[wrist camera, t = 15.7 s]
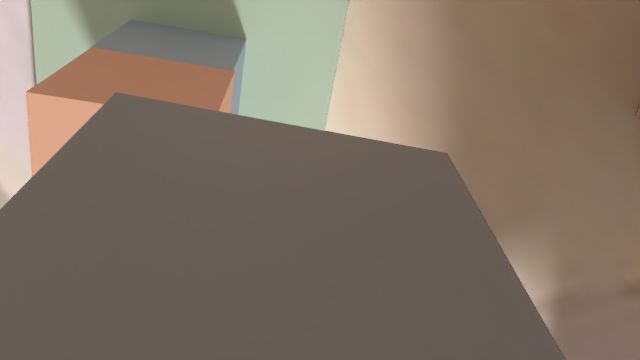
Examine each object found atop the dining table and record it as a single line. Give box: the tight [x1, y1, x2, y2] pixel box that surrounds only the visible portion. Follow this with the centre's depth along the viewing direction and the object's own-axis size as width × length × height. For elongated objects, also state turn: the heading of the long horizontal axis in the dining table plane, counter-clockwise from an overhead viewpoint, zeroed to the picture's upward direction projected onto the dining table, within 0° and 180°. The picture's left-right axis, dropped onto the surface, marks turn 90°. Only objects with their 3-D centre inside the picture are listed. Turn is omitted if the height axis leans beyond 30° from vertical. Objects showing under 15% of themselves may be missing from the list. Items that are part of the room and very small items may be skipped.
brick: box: [26, 47, 235, 177], centre depth 21 cm, size 6×6×6 cm
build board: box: [31, 0, 349, 131], centre depth 30 cm, size 16×16×1 cm
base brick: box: [90, 20, 246, 115], centre depth 27 cm, size 6×6×6 cm
